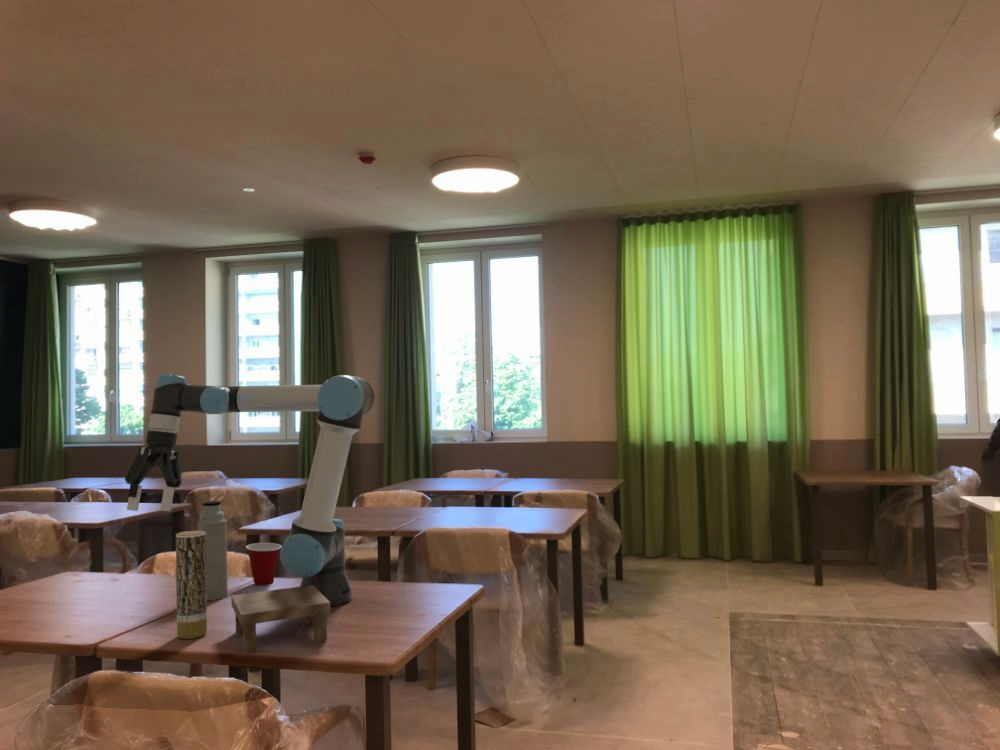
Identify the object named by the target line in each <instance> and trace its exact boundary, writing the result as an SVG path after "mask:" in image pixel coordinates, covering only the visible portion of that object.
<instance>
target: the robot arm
mask: <svg viewBox="0 0 1000 750" xmlns="http://www.w3.org/2000/svg"><path fill="white" fill-rule="evenodd" d="M153 391H154V392H153V398H152V404H151V411H150V416H149V421H148V422H149V423H148V429H150V430H148V431H147V432H146V439H145V444H146V445H148V446H147V447H146V446H139V448H138V451H137V454H136V457H135V459H134V460H133V462H132V464H131V466H130V468H129V470H128V472H127V474H126V475H125V478H124V481H125V482H126V484H127V485H129V489H128V491H129V492H128V499H127V500H128V501H127V507H126V511H133V512H138V511H139V506H140V500H141V494H142V488H143V485H140V484H141V483H142V482H143V480H144V479H146V476H148V474H149V473H150V472H151V470H152V468H154V467H156V466H157V467H159V469H160V470H161V473H162V475H163V479H164V482H165V485H166V486H164V487H163V492H162V500H161V504H160V509H159V511H161V512H162V511H164V512H171V510H172V507H173V506H172V505H173V499H174V495H175V489H176V488H179V487H180V485H182V477H181V470H180V469H181V468H180V463H179V455H180V452H179V451H178V450H176V451H175V450H172V448H175V447H176V444H177V440H178V434H177V432H179V428H180V423H181V422H180V421H181V415H182V412H190V413H199V414H207V415H222V414H224V413H225V414H226V413H227V414H230V413H265V412H267V413H268V412H270V413H273V412H275V413H276V412H279V413H280V412H285V413H286V412H318V414H317V417H316V418H317V419H316V422H317V423H318V425H319V426H320V429H319V435H318V437H317V438H318V439H317V444H316V447H315V452H314V456H313V460H312V463H311V468H310V473H309V477H308V480H307V481H308V482H307V486H306V488H305V489H306V490H305V492H304V493H305V494H304V499H303V502H302V507H301V511H300V515H298V516H297V517H295V518H294V519H293V520H292V524H291V528H290V531H289V536H288V537H287V538H286V539H285V541H284V542H283V544H282V545H281V546H282V547H281V548H280V550H279V556H280V561H281V564H282V566H283V567H284V569H285V570H286V571H287V572H288V573H289V574H290V575H291V576H292V575H293V576H295V577H298V578H302V579H301V582H300V586H299V587H301V586H309V585H313V586H314V587H315V588H316V589H317V590H318V591H319V592H320V593H321V594H322V595H323V596H324V597H325V598H326V599H327V600H328V601H329V602H330V607H335V606H339V604H340V605H344V604H347V603H349V602H350V601H352V599H353V590H352V587H351V584H350V582H349V578H348V575H347V573H346V547H345V546H346V540H345V536H346V535H345V533H346V529H345V523H344V521H343V520H342V519H340V518H339V519H338V518H336V519H335V518H334V516H335V511H336V507H337V502H338V499H339V494H340V491H341V490H340V489H341V486H342V483H343V478H344V475H345V474H344V473H345V469H346V466H347V461H348V456H349V452H350V448H351V445H352V440H353V435H354V434H356V433H357V432H359V431H360V430H361V427H362V423H363V422H362V421H363V418H364V416H365V415H366V414H368V413H369V412H370V411H371V410H372V409H373V406H374V403H375V396H376V395H375V392H374V391H375V390H374V389H373V386H372V385H371V383H370V382H369V381H368V380H366V379H364V378H363V377H359V376H354V375H353V376H352V375H350V374H339V375H335V376H332V377H330V378H328V379H326V380H325V381H324V382H323V383H322V384H304V385H303V384H294V385H293V384H291V385H290V384H288V385H287V384H285V385H244V386H243V385H242V386H239V385H237V386H236V385H235V386H234V385H233V386H231V385H230V386H219V385H218V386H217V385H203V384H190V383H187V379H186V377H185V376H182V375H176V374H169V373H168V374H167V373H161V374H159V375H157V378H156V383H155V387H154V389H153ZM334 605H335V606H334Z"/></svg>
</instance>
